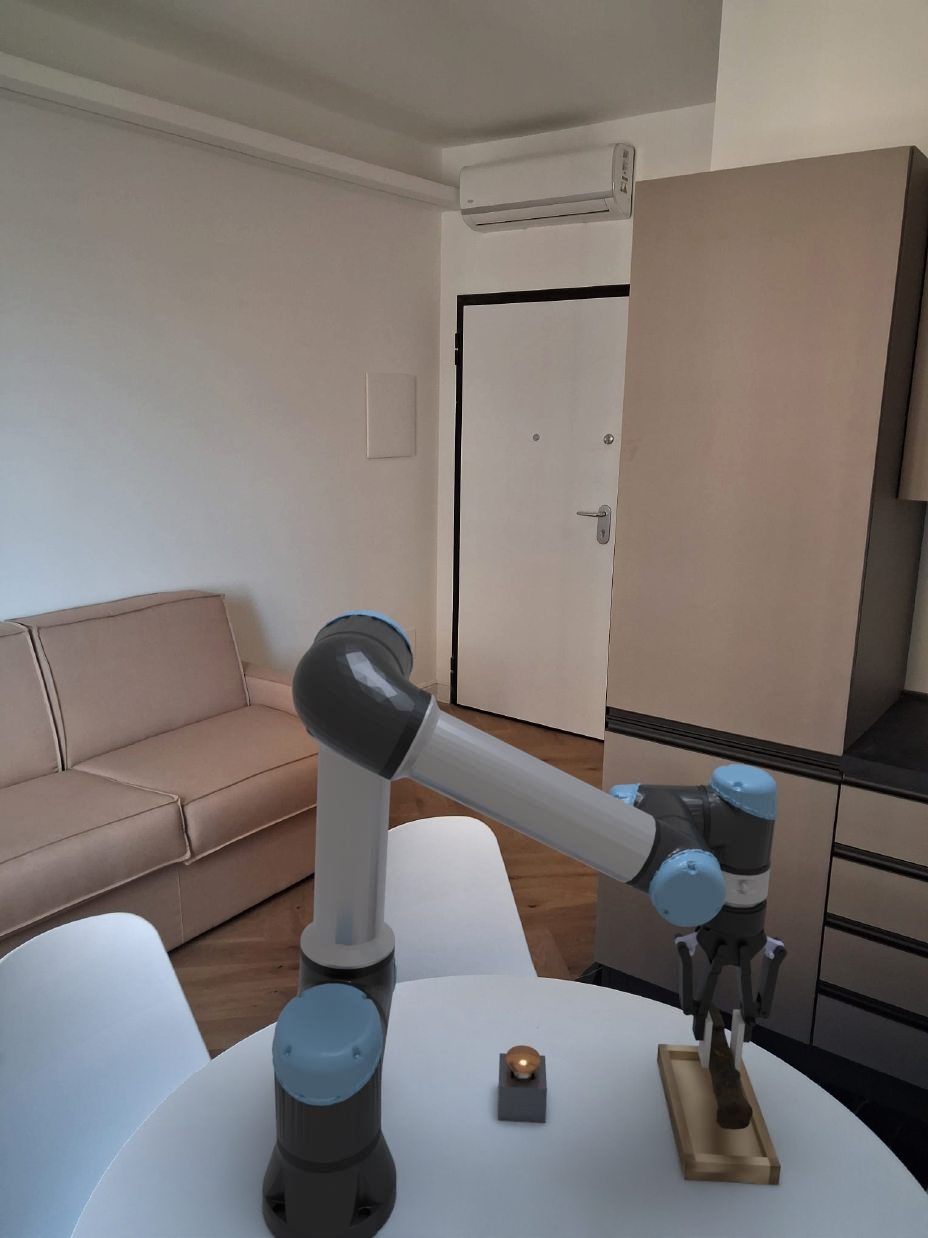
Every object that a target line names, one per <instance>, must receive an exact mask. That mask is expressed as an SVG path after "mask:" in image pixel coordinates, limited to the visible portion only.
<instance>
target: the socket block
mask: <svg viewBox="0 0 928 1238" xmlns="http://www.w3.org/2000/svg"><path fill="white" fill-rule="evenodd" d="M506 1054H507V1053H502V1052H501V1053H499V1063H498V1064H499V1065H498V1091H497V1092H498V1095H497V1101H498V1102H497V1107H498V1108H497V1121H507V1122H523V1123H524V1122H525V1123H526V1122H527V1123H528V1122H529V1123H543V1124H544V1123H546V1117H547V1115H546V1113H547V1096H548V1086H547V1083H548V1082H547V1066H546V1065H547V1064H546V1062H547V1061H546V1055H544V1054H543V1055H541V1054H539V1055H540V1067H539V1069H538V1070H537V1071H536V1072H534V1073H532V1080H530V1079H513V1072H512V1071H511V1070H510V1069H509V1068H508V1067H507V1065H506Z"/></svg>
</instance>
